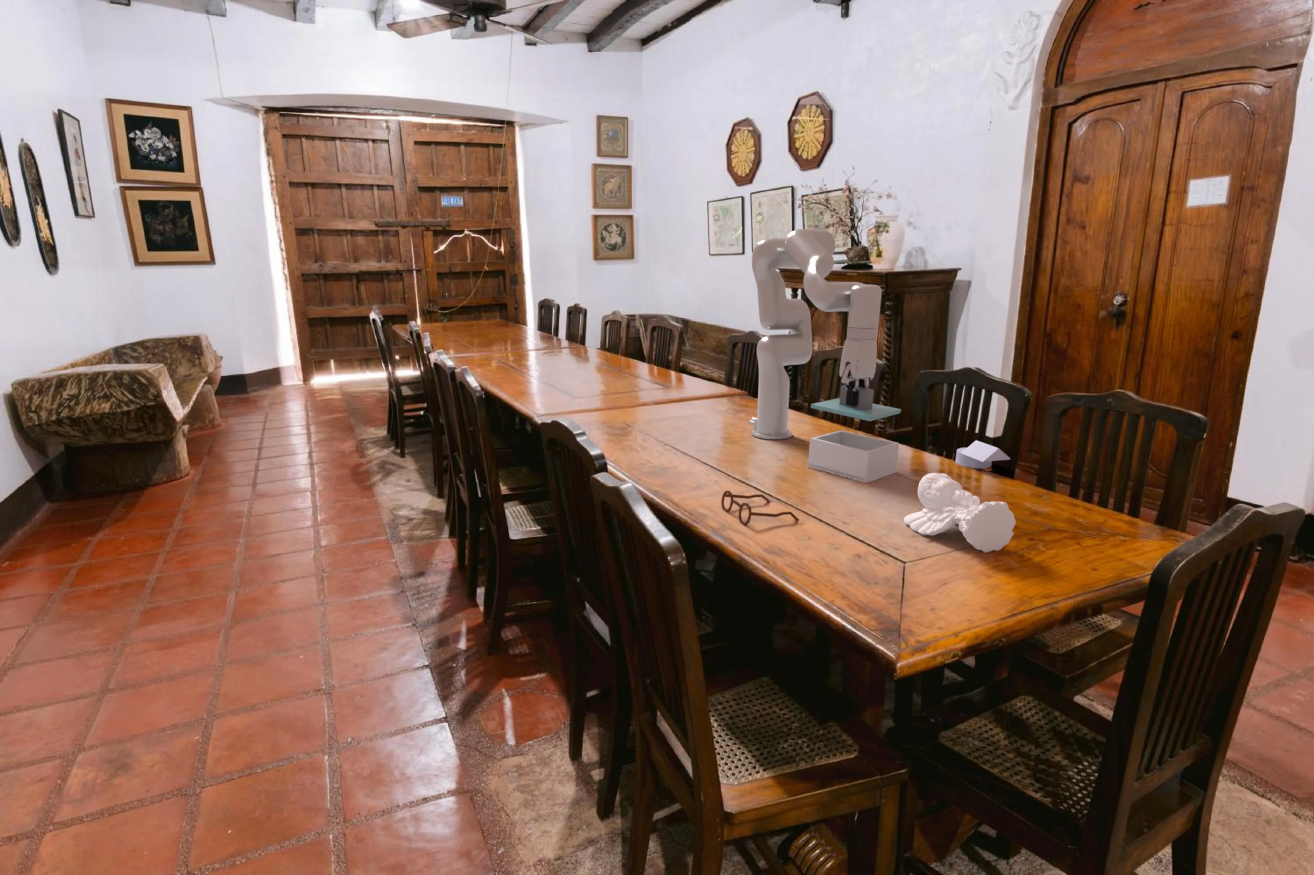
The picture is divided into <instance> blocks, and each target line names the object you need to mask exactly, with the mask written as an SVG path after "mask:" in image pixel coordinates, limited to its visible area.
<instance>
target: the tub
mask: <svg viewBox="0 0 1314 875" xmlns="http://www.w3.org/2000/svg"><path fill="white" fill-rule="evenodd" d="M899 448H900V443H899V442H896V441H892V440H891V441H890V440H886V439H882V438H878V437H872V436H870V435H864V434H860V433H855V432H850V431H847V430H836V431H833V432H830V433H825V434H822V435H821V434H820V435H818V436H814V437H810V438H809V448H808V449H809V450H808V464H807V467H808V468H810V467H811V469H813V470H818V471H821V470H823V471H822V472H825V471H826V473H828V472H829V473H828V474H833V475H835V474H837V475H836V476H839V475H840V476H839V477H842V476H843V477H842V478H846V477H848V478H847V479H850V478H851V479H850V480H854V481H856V482H860V481H861V483H864V482H865V483H864V484H867V482H868V483H870V482H872V481H876V480H879V479H881V478H882V479H883V478H884V477H888V476H890V475H892V474H896V473H897V471H898V470H897V467H898V460H899V459H898V457H899Z"/></svg>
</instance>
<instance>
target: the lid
mask: <svg viewBox="0 0 1314 875" xmlns="http://www.w3.org/2000/svg"><path fill="white" fill-rule="evenodd" d="M857 391H859V394H858V404H857V406H856V407H854V406H850V405H846V395H847V390H846V386H845V384H843V385H841V386H840V390H839V393H840V394H839V397H837V398H833V399H829V400H828V399H827V400H824V401H819V402H815V403H811V404H810V408H811V409H814V410H818V411H823V412H826V413H827V412H829V413H832V414H837V415H840V416H844V417H850V418H854V419H858V420H863V421H867V422H872V421H876V420H879V419H883V418H887V417H891V416H894V415H898V414H901V412H902V409H901V408H896V407H893V406H888V405H887V406H886V405H882V404H876V403H874V401H873V400H874V392H875V390H874V389H871V388H868V389H867V388H862V387H858V388H857Z"/></svg>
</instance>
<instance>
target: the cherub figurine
mask: <svg viewBox="0 0 1314 875" xmlns="http://www.w3.org/2000/svg"><path fill="white" fill-rule="evenodd" d="M917 497H918V500H919V501H920V503H921V505H922V506H923V507H924V508H923V509H921V511H916V512H913V513H910V514H907V515H905V517H904V518H903V523H904V524H905V525H907V526H908V527H909V528H910V529H911V530H912V531H913V532H916V533H919V534H920V535H922V536H936V535H939V534H941V533H942V534H943V533H945V532H946V531H947V530H950V529H952V528H953V527H955V526H956V525H958V529H959V531H960V532H961V533H962V535H963V537H964V538H965V539H966V541H967V543H969V544H970V545H971V546H973V547H974V548H975V549H976V550H977V551H982V553H990V552H992V551H996V552H997V551H1001V550H1002V548H1003V547H1005V546H1006V545H1008V544H1009V543H1010V540H1011V539H1012V537H1013V536H1014V532H1013V529H1014V527H1015V526H1016V522H1017V521H1016V518H1015V515H1014V513H1013V511H1011V510H1010V507H1009V505H1008V503H1007V502H1005V501H1004V502H1003V501H995V500H994V501H993V500H992V501H990V502H989V501H985V502H982V503H981V501H980V497H979V496H977V495H973V493H971V492H969V491H968V490H964V489H963V486H962V484H960V482H958V481H956V480H954V479H953V478H952V477H951V476H949V475H948V474H946V473H938V472H929V473H927V474H925V475H924V476H922V478H921V480H919V483H918V487H917Z"/></svg>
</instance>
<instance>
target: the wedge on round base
mask: <svg viewBox="0 0 1314 875" xmlns="http://www.w3.org/2000/svg"><path fill="white" fill-rule="evenodd" d="M955 454H956V455H955V463H956V465H959V466H961V467H965V468H969V467H970V468H971V469H987V468H988V469H989V468H991V467H992V462H996V461H1008V460H1011V458H1010V457H1009V455H1007V454H1006V453H1005V452H1004V451H1003V450H1001V449H1000V448H998V447H996V446H993V445H992V444H987V443H985V442H982V441H979V440H977V439H976V440H975V441H973V442H972V443H971V444H970V445H969V446H968V447H967V446H966V447H960V448H957V449H956V453H955ZM970 468H969V469H970Z"/></svg>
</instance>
